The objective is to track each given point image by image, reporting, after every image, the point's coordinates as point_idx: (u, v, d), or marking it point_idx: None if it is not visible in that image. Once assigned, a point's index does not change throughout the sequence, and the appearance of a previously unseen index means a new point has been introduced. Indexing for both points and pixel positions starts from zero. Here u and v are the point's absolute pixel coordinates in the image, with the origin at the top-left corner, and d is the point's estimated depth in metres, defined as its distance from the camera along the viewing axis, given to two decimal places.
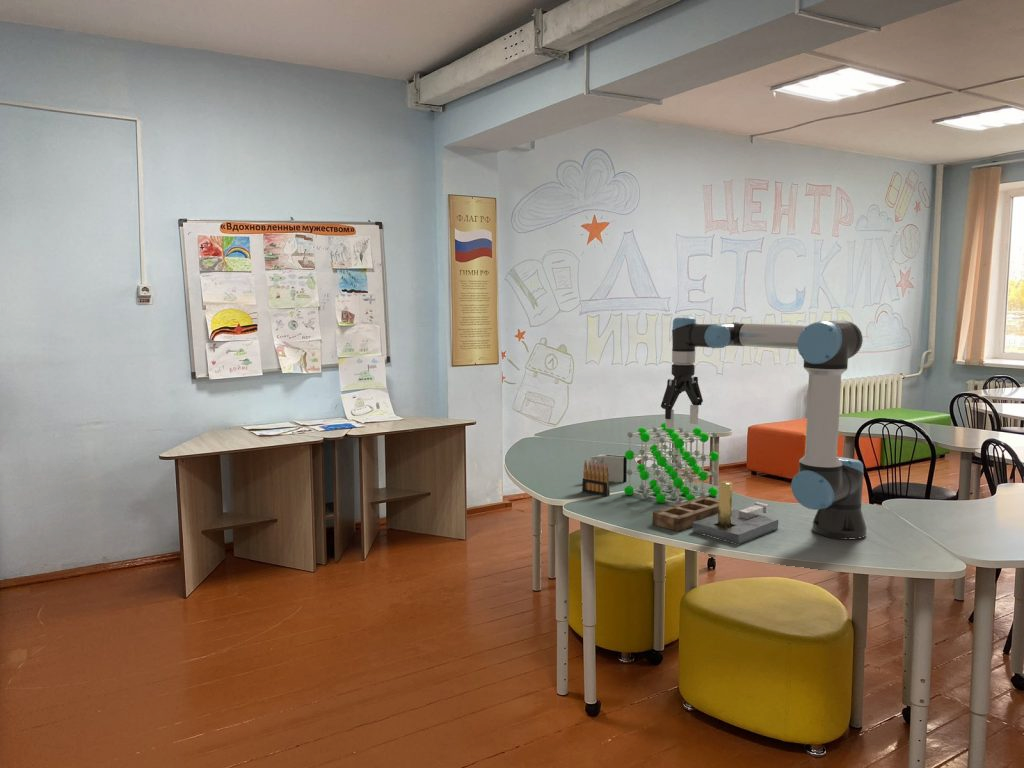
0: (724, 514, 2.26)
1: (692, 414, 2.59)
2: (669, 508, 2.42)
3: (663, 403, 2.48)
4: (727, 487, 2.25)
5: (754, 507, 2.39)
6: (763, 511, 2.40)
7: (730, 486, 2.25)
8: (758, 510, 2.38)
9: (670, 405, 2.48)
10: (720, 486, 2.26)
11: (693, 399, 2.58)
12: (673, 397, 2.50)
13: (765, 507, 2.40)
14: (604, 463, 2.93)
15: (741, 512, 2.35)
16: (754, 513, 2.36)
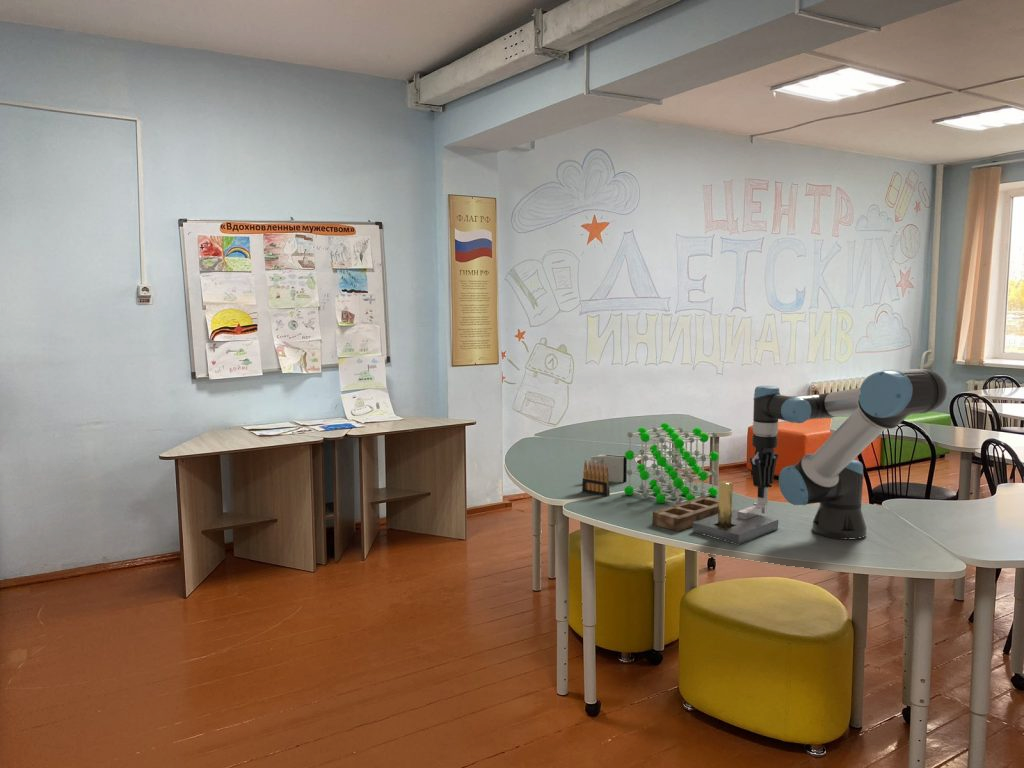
0: (724, 514, 2.26)
1: None
2: (669, 508, 2.42)
3: (755, 482, 2.39)
4: (727, 487, 2.25)
5: (753, 507, 2.39)
6: (762, 511, 2.39)
7: (730, 486, 2.25)
8: (757, 510, 2.37)
9: (762, 484, 2.39)
10: (720, 486, 2.26)
11: None
12: (762, 474, 2.39)
13: (764, 507, 2.39)
14: (604, 463, 2.93)
15: (740, 512, 2.35)
16: (752, 513, 2.36)
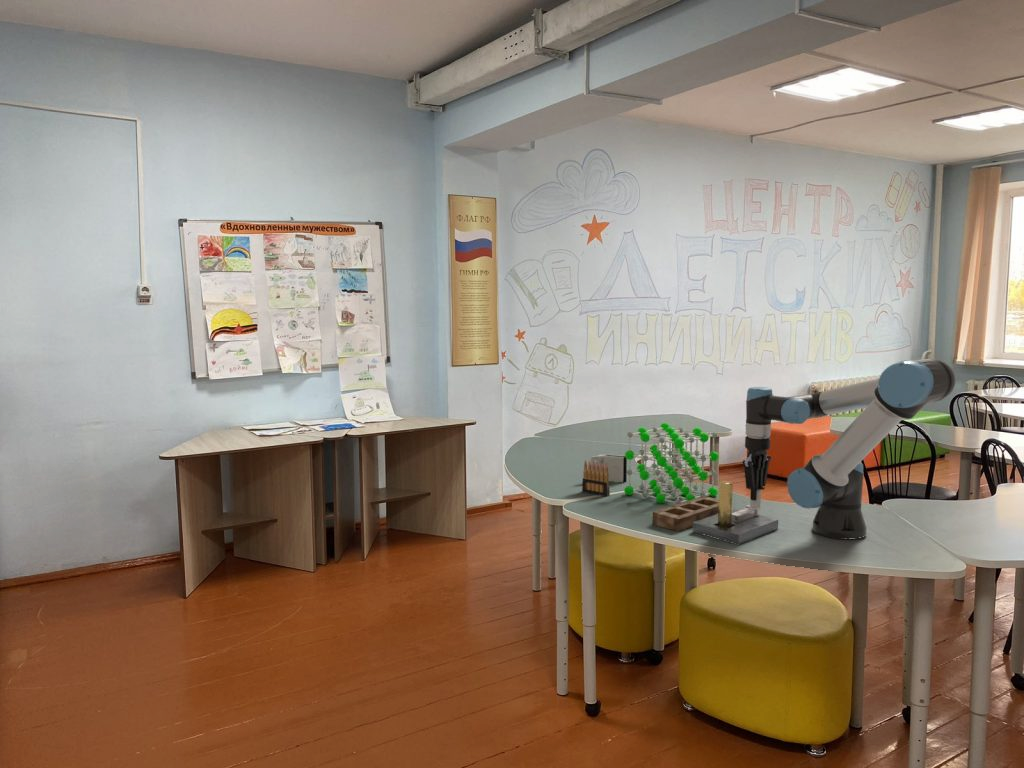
0: (724, 514, 2.26)
1: None
2: (669, 508, 2.42)
3: (748, 485, 2.36)
4: (727, 487, 2.25)
5: (745, 510, 2.36)
6: (754, 514, 2.36)
7: (730, 486, 2.25)
8: (749, 513, 2.34)
9: (755, 487, 2.36)
10: (720, 486, 2.26)
11: None
12: (754, 477, 2.36)
13: (756, 510, 2.37)
14: (604, 463, 2.93)
15: (732, 515, 2.32)
16: (745, 516, 2.33)
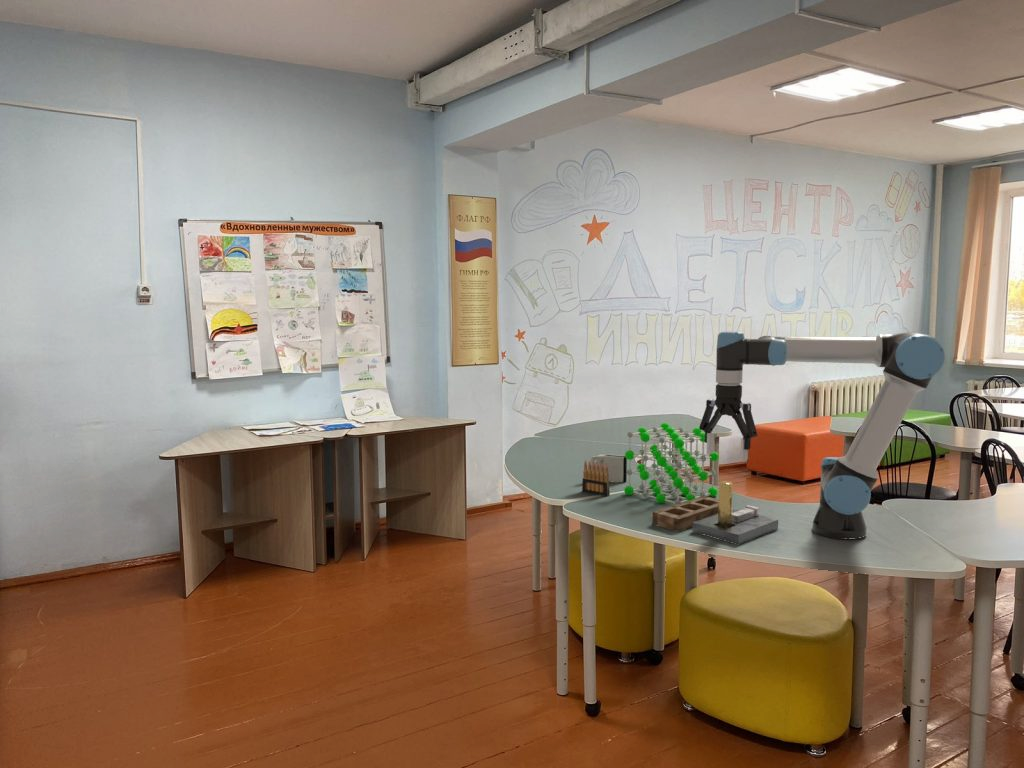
0: (724, 514, 2.26)
1: None
2: (669, 508, 2.42)
3: None
4: (727, 487, 2.25)
5: (745, 510, 2.36)
6: (754, 514, 2.36)
7: (730, 486, 2.25)
8: (749, 513, 2.34)
9: (705, 428, 2.29)
10: (720, 486, 2.26)
11: None
12: None
13: (756, 510, 2.36)
14: (604, 463, 2.93)
15: None
16: (744, 516, 2.33)
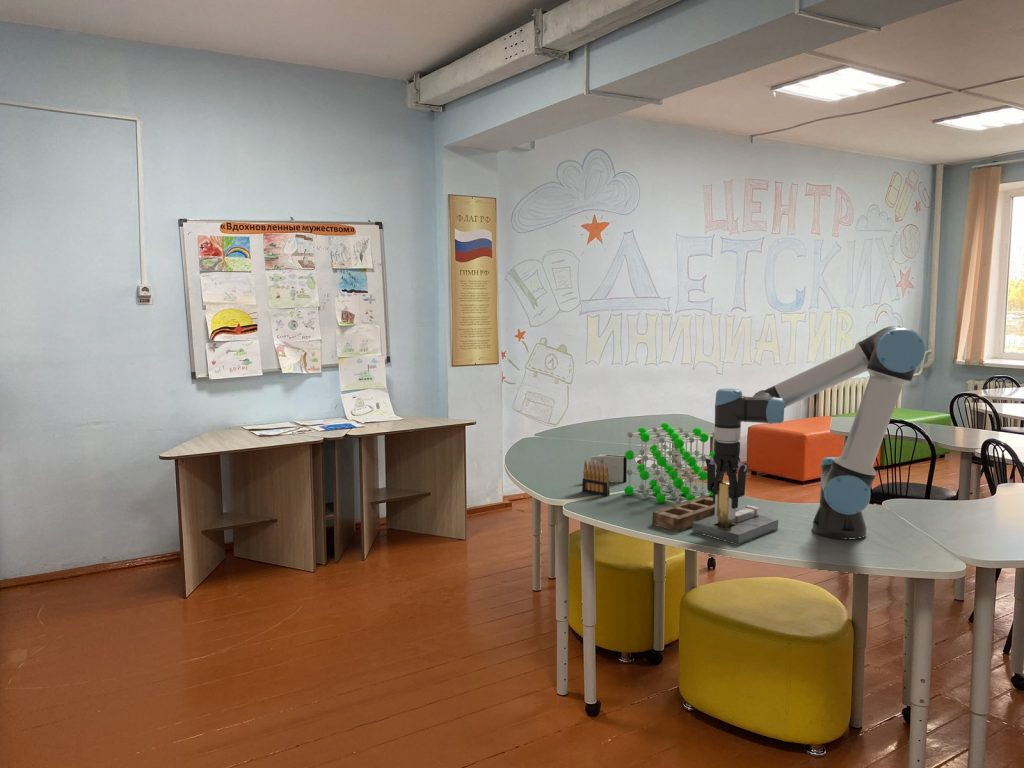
0: (724, 514, 2.26)
1: None
2: (669, 508, 2.42)
3: None
4: (727, 487, 2.25)
5: (745, 510, 2.36)
6: (754, 514, 2.36)
7: None
8: (749, 513, 2.34)
9: (713, 489, 2.29)
10: (720, 486, 2.26)
11: None
12: None
13: (756, 510, 2.36)
14: (604, 463, 2.93)
15: None
16: (744, 516, 2.33)
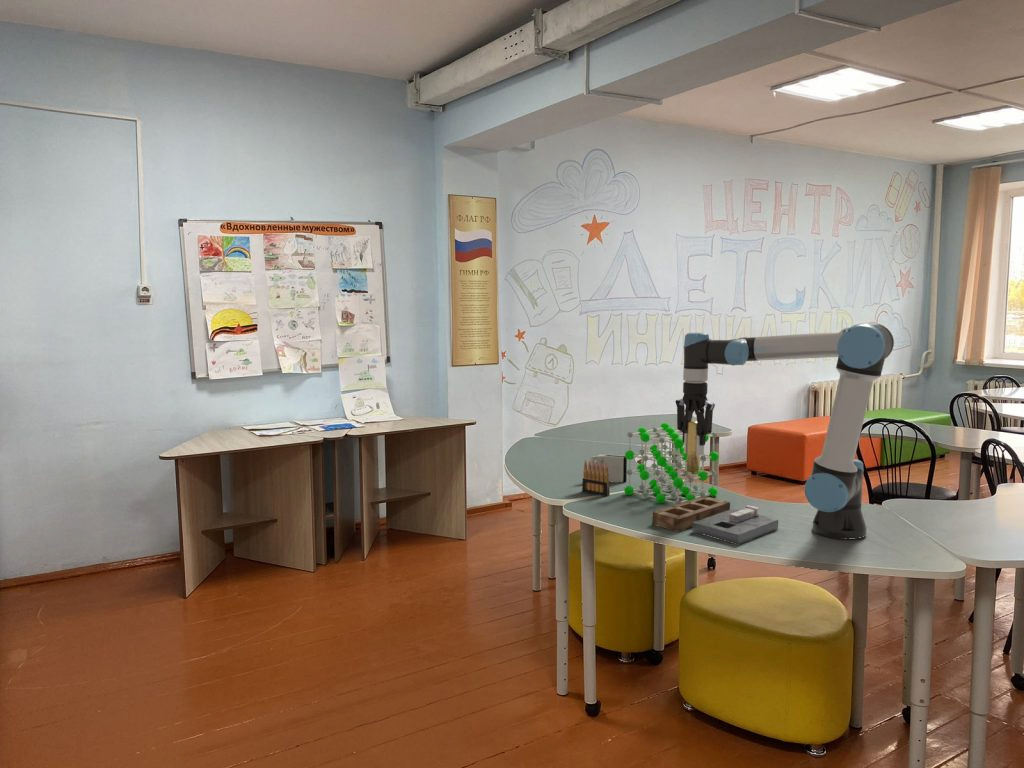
0: (692, 451, 2.40)
1: None
2: (669, 508, 2.42)
3: None
4: (695, 425, 2.39)
5: (745, 510, 2.36)
6: (754, 514, 2.36)
7: None
8: (749, 513, 2.34)
9: (682, 428, 2.43)
10: (689, 425, 2.40)
11: None
12: None
13: (756, 510, 2.36)
14: (604, 463, 2.93)
15: (731, 515, 2.32)
16: (744, 516, 2.33)
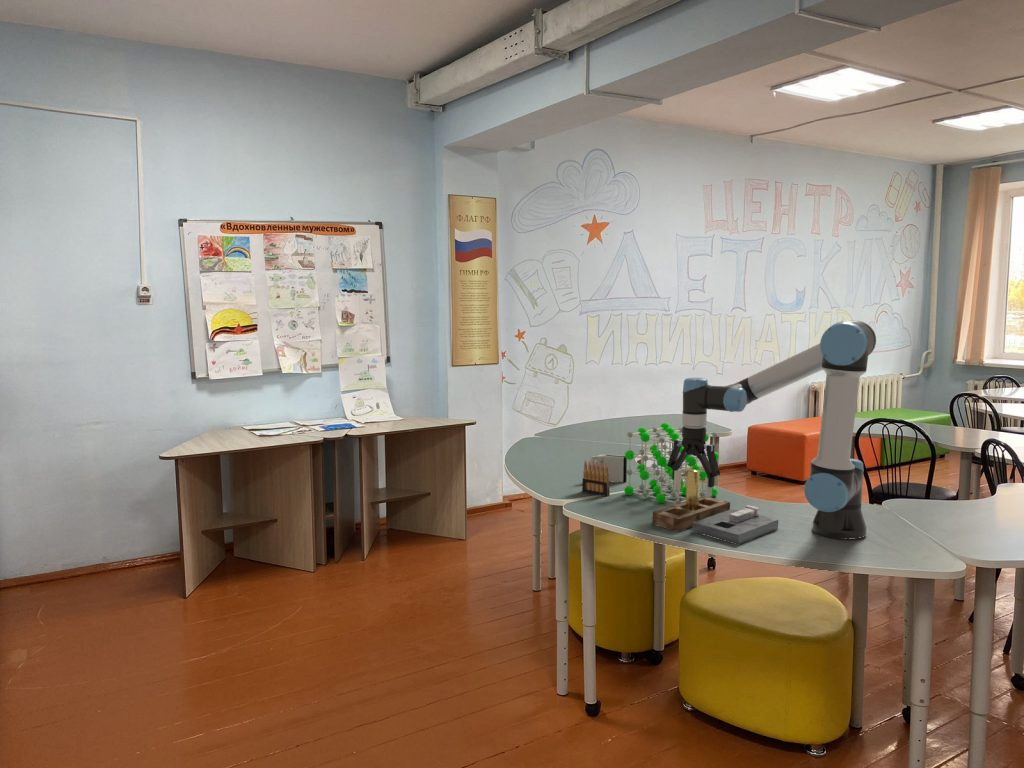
0: (691, 500, 2.42)
1: None
2: (669, 508, 2.42)
3: None
4: (694, 474, 2.41)
5: (745, 510, 2.36)
6: (754, 514, 2.36)
7: (697, 473, 2.41)
8: (749, 513, 2.34)
9: (673, 465, 2.47)
10: (687, 473, 2.42)
11: None
12: None
13: (756, 510, 2.36)
14: (604, 463, 2.93)
15: (731, 515, 2.32)
16: (744, 516, 2.33)
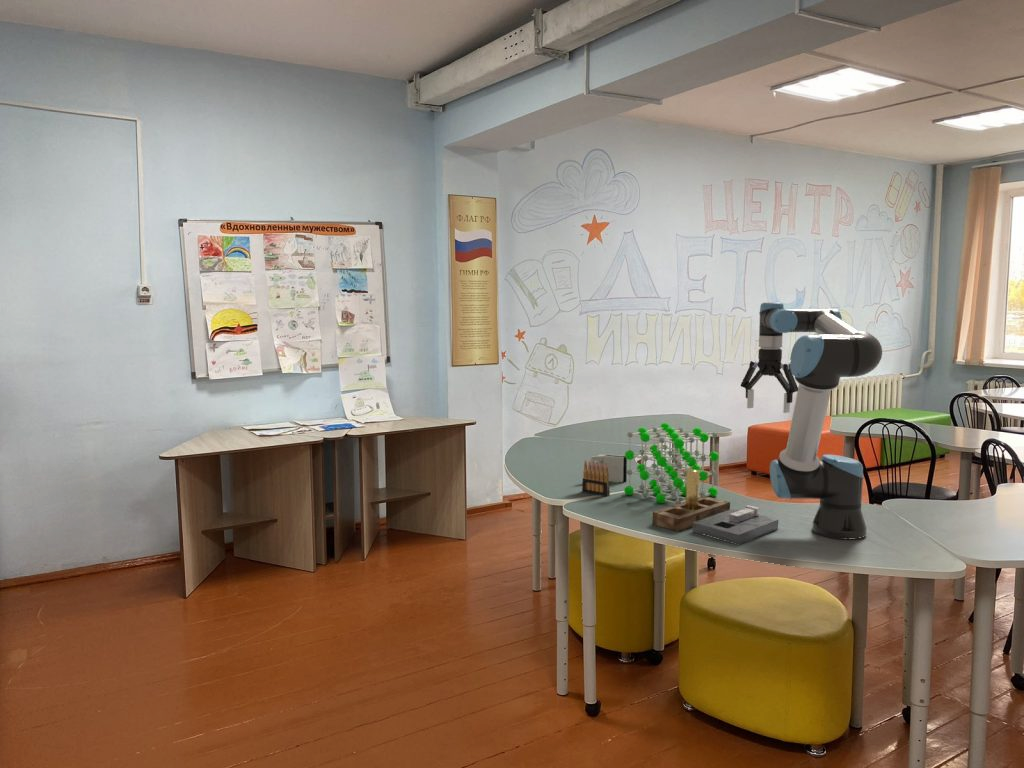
0: (691, 500, 2.42)
1: None
2: (669, 508, 2.42)
3: None
4: (693, 474, 2.41)
5: (745, 510, 2.36)
6: (754, 514, 2.36)
7: (697, 473, 2.41)
8: (749, 513, 2.34)
9: (746, 385, 2.63)
10: (687, 473, 2.42)
11: None
12: None
13: (756, 510, 2.36)
14: (604, 463, 2.93)
15: (731, 515, 2.32)
16: (744, 516, 2.33)
